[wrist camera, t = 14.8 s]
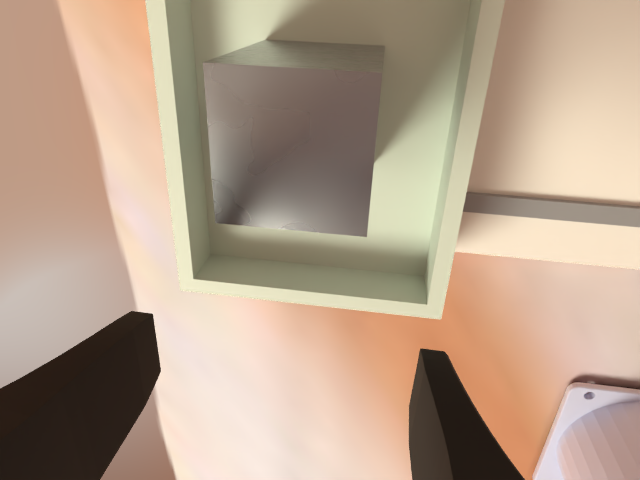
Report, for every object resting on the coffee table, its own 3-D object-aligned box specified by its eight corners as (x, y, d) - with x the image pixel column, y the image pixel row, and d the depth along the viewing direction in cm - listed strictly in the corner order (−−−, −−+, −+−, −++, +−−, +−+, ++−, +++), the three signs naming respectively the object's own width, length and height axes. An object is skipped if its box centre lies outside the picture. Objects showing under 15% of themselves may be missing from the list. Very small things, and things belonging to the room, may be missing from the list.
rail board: (799, -132, 14) (824, -140, 14) (636, 262, 21) (646, 273, 20) (198, -143, 16) (188, -150, 15) (221, 223, 23) (215, 231, 22)
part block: (385, 45, 15) (382, 72, 10) (374, 162, 17) (367, 237, 12) (265, 39, 16) (203, 62, 11) (267, 154, 18) (215, 222, 12)
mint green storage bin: (510, -171, 14) (550, -226, 11) (432, 265, 21) (441, 319, 18) (181, -175, 15) (118, -226, 12) (213, 243, 22) (179, 290, 19)
